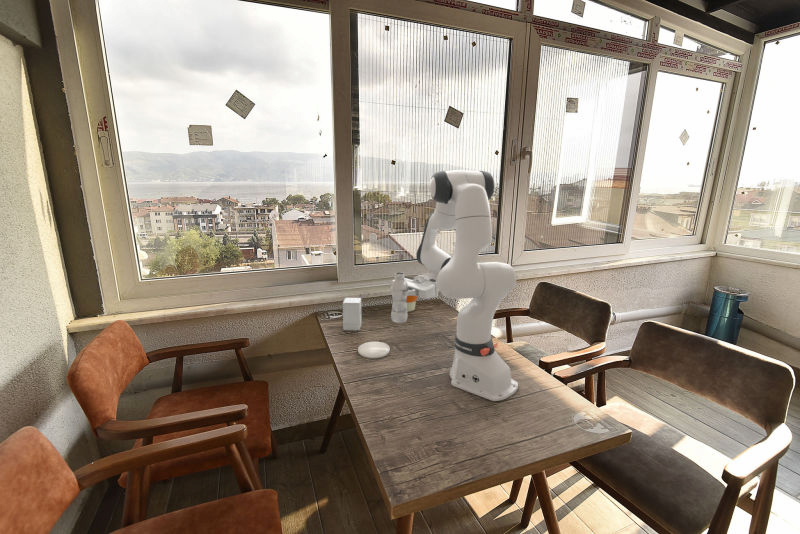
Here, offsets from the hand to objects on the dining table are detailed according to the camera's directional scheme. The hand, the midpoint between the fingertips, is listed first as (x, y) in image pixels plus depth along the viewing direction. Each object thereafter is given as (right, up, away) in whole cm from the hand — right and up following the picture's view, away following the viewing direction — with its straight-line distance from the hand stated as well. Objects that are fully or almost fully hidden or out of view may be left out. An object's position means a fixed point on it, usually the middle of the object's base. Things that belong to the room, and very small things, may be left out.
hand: (398, 291), depth 145 cm
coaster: (-9, -22, -3) cm, 24 cm away
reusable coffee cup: (+4, -12, +43) cm, 45 cm away
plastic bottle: (0, -12, +4) cm, 13 cm away
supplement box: (-20, -17, +19) cm, 33 cm away
